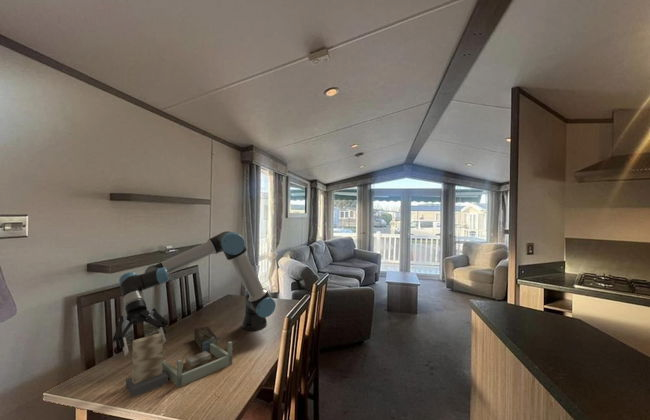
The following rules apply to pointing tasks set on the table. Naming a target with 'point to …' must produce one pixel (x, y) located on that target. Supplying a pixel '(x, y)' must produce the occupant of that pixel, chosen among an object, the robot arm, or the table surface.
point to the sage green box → (201, 371)
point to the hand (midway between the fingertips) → (146, 348)
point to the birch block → (147, 357)
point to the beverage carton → (204, 338)
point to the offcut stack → (196, 361)
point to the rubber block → (146, 384)
